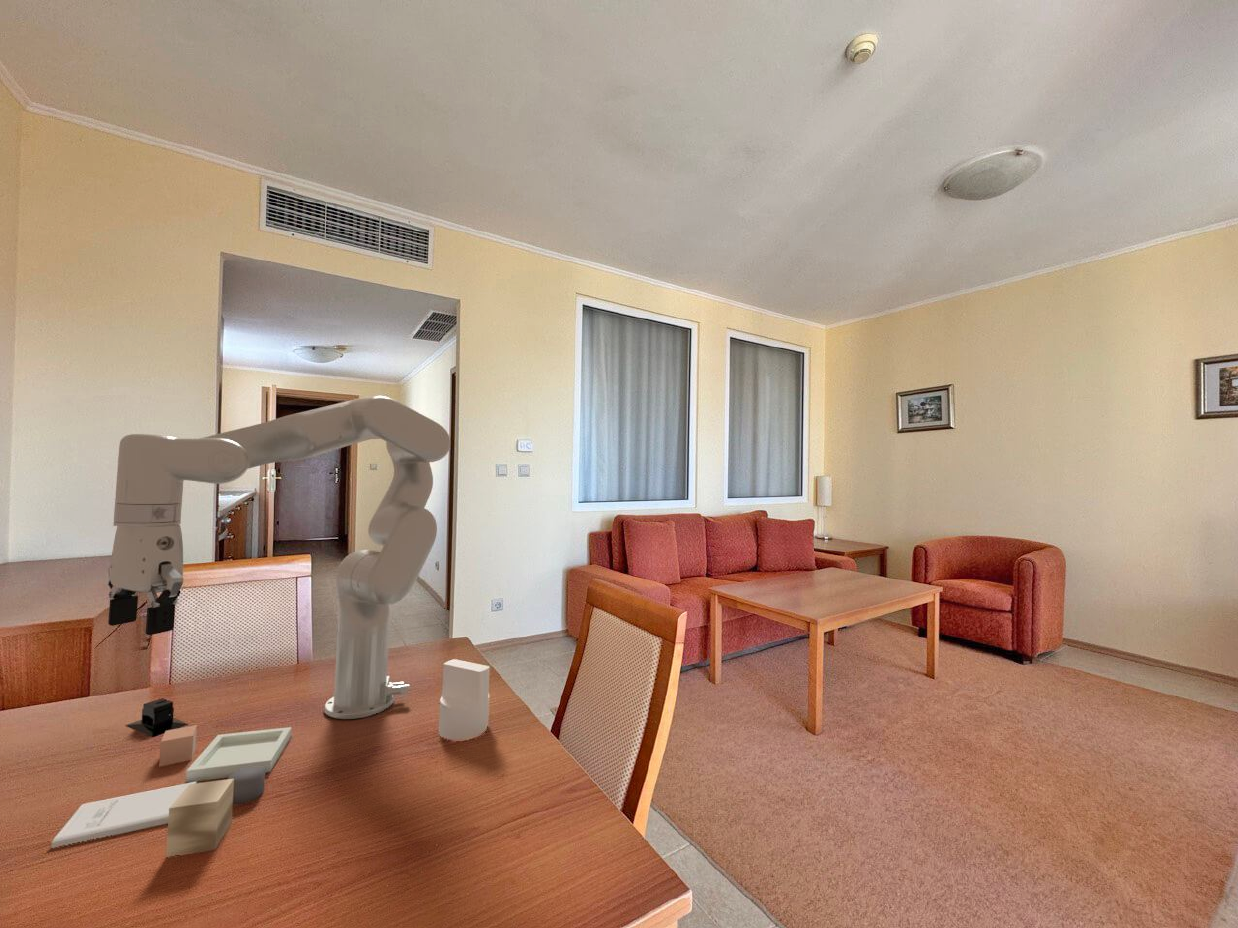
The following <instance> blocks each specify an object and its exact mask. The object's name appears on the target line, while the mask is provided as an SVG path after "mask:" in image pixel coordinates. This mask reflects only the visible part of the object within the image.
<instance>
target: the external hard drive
mask: <svg viewBox="0 0 1238 928" xmlns="http://www.w3.org/2000/svg"><path fill="white" fill-rule="evenodd" d="M196 783H198V781H195V782H188V783H186V782H185V783H182V784H176V785H173V786H168V787H161V788H157V789H152V790H148V791H140V792H136V793H132V794H126V795H122V796H116V797H112V798H107V799H103V800H102V799H101V800H97V801H91V802H86V803H82V804H81V805H80V806H79V808H77V809H76V811H75V812H74V814H72V816H71V817H70V818H69V820H68V821H67V822H66V824H65V825H64V826H63V827H62V828H61V829H60V831H59V832H58V833H57V834H56V835H55V837H54V838H53V840H52V841H51V846H50V847H51V848H53V849H55V848H54V847H57V848H59V847H58V846H61V845H66V846H69V845H68V844H71V845H73V844H72V843H76V844H78V843H77V842H80V843H83V842H82V841H84V842H88V841H87V840H90V839H91V840H90V841H93V840H92V839H94V840H97V839H96V838H99V839H103V838H107V837H106V836H108V837H112V836H117V835H122V834H126V833H129V832H133V831H134V832H135V831H140V830H144V829H148V828H152V827H157V826H162V825H167V824H168V819H169V808H170V807H171V805H172V804H173V803H174V802H175V801H176V800H177V798H178V797H179V796H180V795H181V794H182V792H183V791H184V790H185V789H186V788H187V786H188V785H189V784H196ZM111 835H112V836H111ZM102 837H103V838H102ZM51 848H50V849H51Z"/></svg>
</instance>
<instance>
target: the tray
mask: <svg viewBox="0 0 1238 928" xmlns="http://www.w3.org/2000/svg"><path fill="white" fill-rule="evenodd" d="M292 728H293V727H292V726H290V727H279V728H270V729H260V730H251V731H250V730H249V731H243V732H242V731H241V732H231V733H223V734H217V735H216V736H215V737H214V739H213V740H212V741H211V742H210V743H209V744H208V746H207V747H206V748H205V749H204V750H203V751H202V752H201V753H200V754H199V755H198V757H197V758H196V759H195V761H193V762H192V763H191V765H190V766H189V767H188V768H187V769H186V771H185V784H186V783H191V782H196V781H197V782H203V781H210V780H211V781H212V780H217V779H224V778H229V776H230V775H231V774H233V773H234V772H236V771H238V770H240V769H243V768H246V767H251V766H261V767H264V768H265V773H271V771H272V770H273V768H274V766H275V765H276V763H277V762H278V760H279V758H280V756H281V755H282V753H283V751H284V750H285V748H286V746H287V745H288V743H289V742H290V740H291V738H292V731H293V729H292Z"/></svg>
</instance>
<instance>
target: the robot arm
mask: <svg viewBox="0 0 1238 928" xmlns="http://www.w3.org/2000/svg"><path fill="white" fill-rule="evenodd" d="M449 435H450V434H449V433H448V431H447V430H446V428H444V427H443V425H441V424H440V423H438V422H436V421H435V420H433V419H432V418H430V417H427V416H425V415H424V414H423V413H420V412H418V411H416V410H414V409H413V408H411V407H409V406H407V405H406V404H404V403H401V402H399V401H397V400H395V399H393V398H390V397H387V396H383V395H375V396H368V397H361V398H355V399H350V400H346V401H343V402H337V403H334V404H330V405H326V406H322V407H318V408H314V409H309V410H305V411H301V412H296V413H292V414H288V415H285V416H281V417H278V418H275V419H272V420H269V421H264V422H261V423H257V424H253V425H250V426H246V427H241V428H238V429H233V430H228V431H226V432H225V431H224V432H221V433H217V434H213V435H209V436H205V437H200V438H180V437H176V436H171V435H161V434H149V433H148V434H144V433H134V434H133V433H131V434H127V435H124V436H123V437H122V438H121V439H120V441H119V444H118V445H119V446H118V458H117V472H116V483H115V484H116V485H115V498H114V500H115V501H114V502H115V503H114V510H113V511H114V513H113V525H112V526H113V527H116V531H115V535H114V541H113V546H112V553H111V561H110V566H109V567H108V568H107V571H108V572H107V573H108V577H109V580H108V583H107V585H108V587H109V589H110V590H109V592H108V598H109V609H108V610H109V611H108V622H107V623H108V625H109V626H112V627H114V626H119V625H123V624H129V623H134V622H136V621H137V620H138V619H137V618H138V617H137V616H138V615H137V614H138V603H139V602H138V600H139V595H135V594H136V593H141V594H146V596H147V599H148V602H149V604H150V607H149V606H148V607H147V608H146V622H145V635H147V636H152V635H153V636H154V635H157V634H158V635H159V634H161V633H166V632H171V631H173V630H174V628H175V627H174V626H175V613H176V605H177V604H178V602H179V601H178V597H179V596H180V594H181V588H182V586H183V585H184V584H183V583H184V543H183V542H184V541H183V534H182V528H181V525H180V524H181V523H182V522H181V518H182V505H183V504H182V503H183V492H184V491H183V490H184V481H188V482H189V481H192V482H199V483H206V484H214V485H219V484H226V483H232V482H233V481H236V480H238V479H239V478H241V477H242V476H243V475H244V474H245V473H246V472H247V470H249V469H253V468H255V467H256V468H257V467H260V466H264V465H269V464H274V463H280V462H288V461H290V462H291V461H299V460H305V459H310V458H313V457H317V456H320V455H323V454H326V453H329V452H333V451H335V450H340V449H342V448H345V447H349V446H351V445H355V444H359V443H361V442H364V441H370V440H379V439H380V440H383V441H385V444H386V450H387V452H388V455H389V456H390V459H391V461H392V465H393V476H392V479H391V482H390V484H389V487H388V489H387V491H386V492H385V494H384V496H383V498H382V500H381V501H380V503H379V505H378V507H377V508H376V510H375V513H374V514H373V515H372V518H371V519H370V521H369V524H368V529H367V531H368V535H369V538H370V540H371V541H372V542H373V543H374V544H377V546H380V547H382V548H381V550H380V551H377V550H372V549H363V550H361V549H360V550H356V551H354V552H351V553H350V554H348V555H346V556H345V558H343V560H341V562H340V563H339V565H338V567H337V570H336V577H335V588H336V593H337V594H336V595H337V606H338V609H337V610H338V612H337V613H338V618H337V620H338V621H337V634H336V636H337V637H336V652H335V653H336V654H335V656H336V658H335V670H334V672H335V673H334V693H333V696H331V698H329V699H328V700H327V701H326V702H325V703H324V713H325V714H326V715H327V716H329V717H331V718H333V719H339V720H354V719H355V720H356V719H361V718H367V717H370V716H374V715H376V713H377V714H379V713H381V712H383V711H385V710H387V709H388V708H390V706H392V705H393V703H394V699H395V696H404V695H405V696H406V695H407V696H408V695H409V692H410V684H405V681H398V682H393V681H390V675H388V658H389V656H388V655H389V639H390V637H389V636H390V624H391V623H390V622H391V619H390V617H391V616H390V615H391V613H390V612H391V611H390V606H391V605H393V604H396V603H398V602H401V601H402V600H403V599H404V598H406V597H407V595H408V594H409V593H410V591H411V590H412V588H413V587H414V585H415V583H416V581H417V579H418V578H419V576H420V573H421V571H422V569H423V567H424V565H425V563H426V562H427V559H428V557H429V555H430V553H431V550H432V549H433V547H434V544H435V542H436V539H437V532H438V526H437V525H438V524H437V521H436V518H435V516H434V515H433V513H432V512H431V511H430V510H428V509H427V508H425V507H426V505H427V503H428V501H429V499H430V496H431V495H432V494H431V493H432V490H433V486H434V477H433V475H434V474H433V471H432V467H431V463H434V462H438V461H440V460H442V459H443V458H444V457H446V455H448V453H449V451H450V447H451V438H450V436H449ZM157 593H160V594H159V596H158V594H157ZM386 708H387V709H386ZM384 709H385V710H384ZM382 710H383V711H382ZM373 714H374V715H373Z"/></svg>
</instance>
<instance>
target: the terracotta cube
mask: <svg viewBox="0 0 1238 928" xmlns="http://www.w3.org/2000/svg"><path fill="white" fill-rule="evenodd" d="M197 727H198V725H197V724H195V725H189V726H184V727H181V728H178V729H172V730H167V731H165V733H164V734H163V736H162V738H161V741H160V747H159V764H158V766H159V768H160V767H164V766H168V765H174V764H179V763H184V762H187V761H192V760H193V757H194V755H195V751H196V748H197V746H196V744H197V732H198V731H197V730H198V728H197Z"/></svg>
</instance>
